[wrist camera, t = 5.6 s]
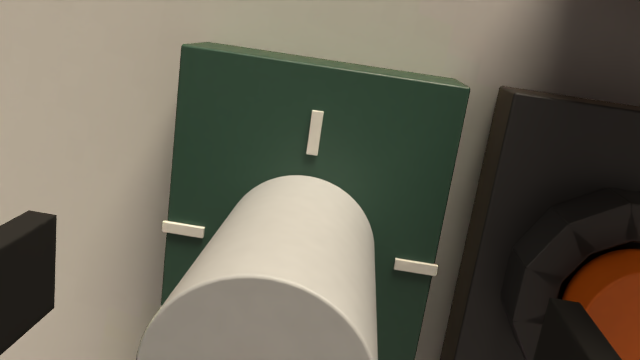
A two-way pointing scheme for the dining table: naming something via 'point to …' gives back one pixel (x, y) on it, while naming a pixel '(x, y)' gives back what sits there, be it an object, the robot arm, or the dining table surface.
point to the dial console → (318, 159)
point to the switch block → (541, 216)
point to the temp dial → (276, 282)
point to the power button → (612, 298)
